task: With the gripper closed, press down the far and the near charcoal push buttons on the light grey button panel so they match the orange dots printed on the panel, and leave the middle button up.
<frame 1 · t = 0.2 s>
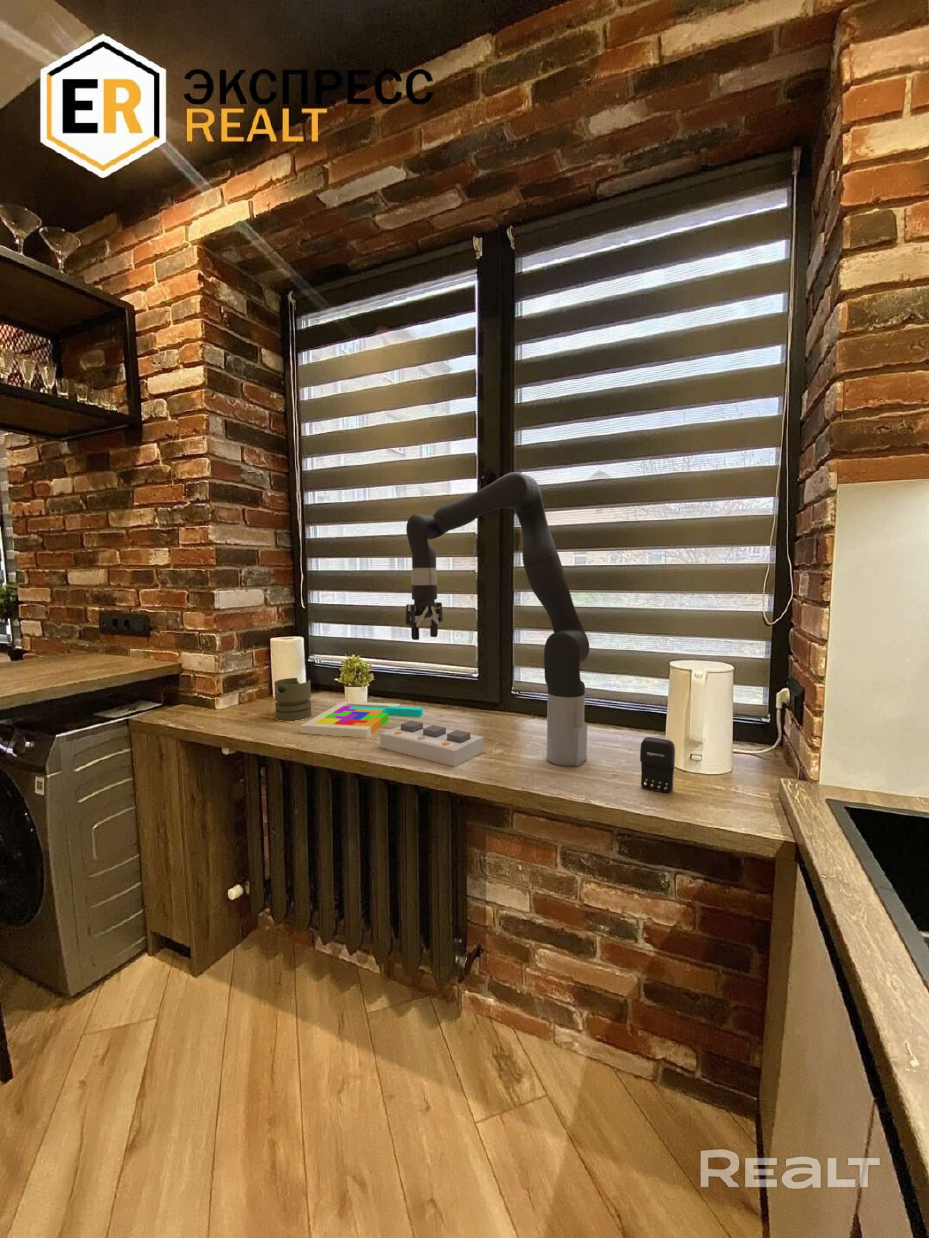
hand: (424, 638, 155), 28 cm above the counter, tool pointing down, fingers open, 8 cm apart
button middle: (434, 733, 142), point 4 cm above the counter, slide at 0.0 cm
button far: (412, 728, 146), point 4 cm above the counter, slide at 0.0 cm
button near: (458, 738, 137), point 4 cm above the counter, slide at 0.0 cm
puzzle game: (367, 724, 167), on the counter
button panel: (431, 749, 141), on the counter
piston: (293, 717, 174), on the counter
battery charger: (655, 790, 115), on the counter
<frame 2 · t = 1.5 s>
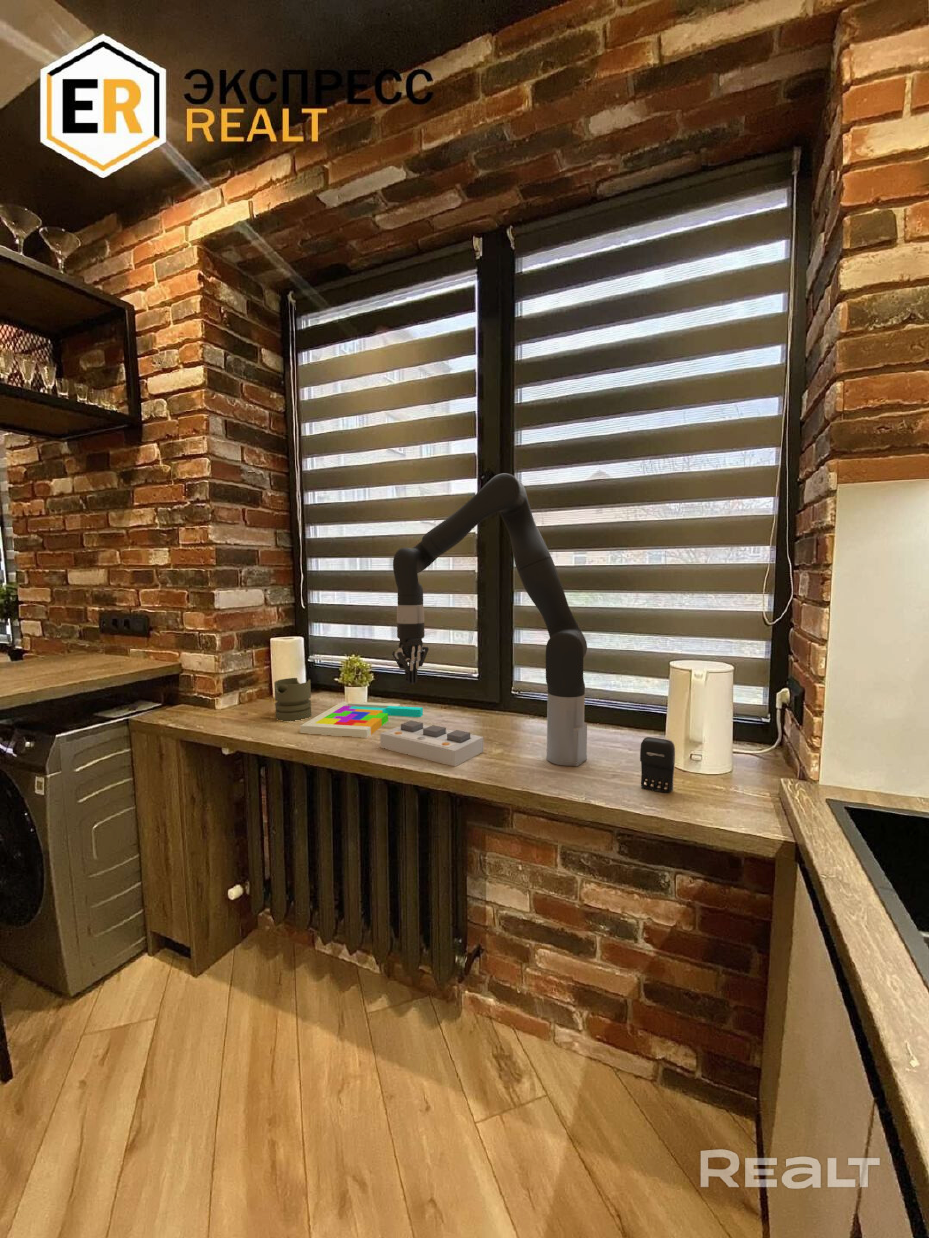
hand: (411, 683, 145), 17 cm above the counter, tool pointing down, fingers closed
nothing on the counter moved.
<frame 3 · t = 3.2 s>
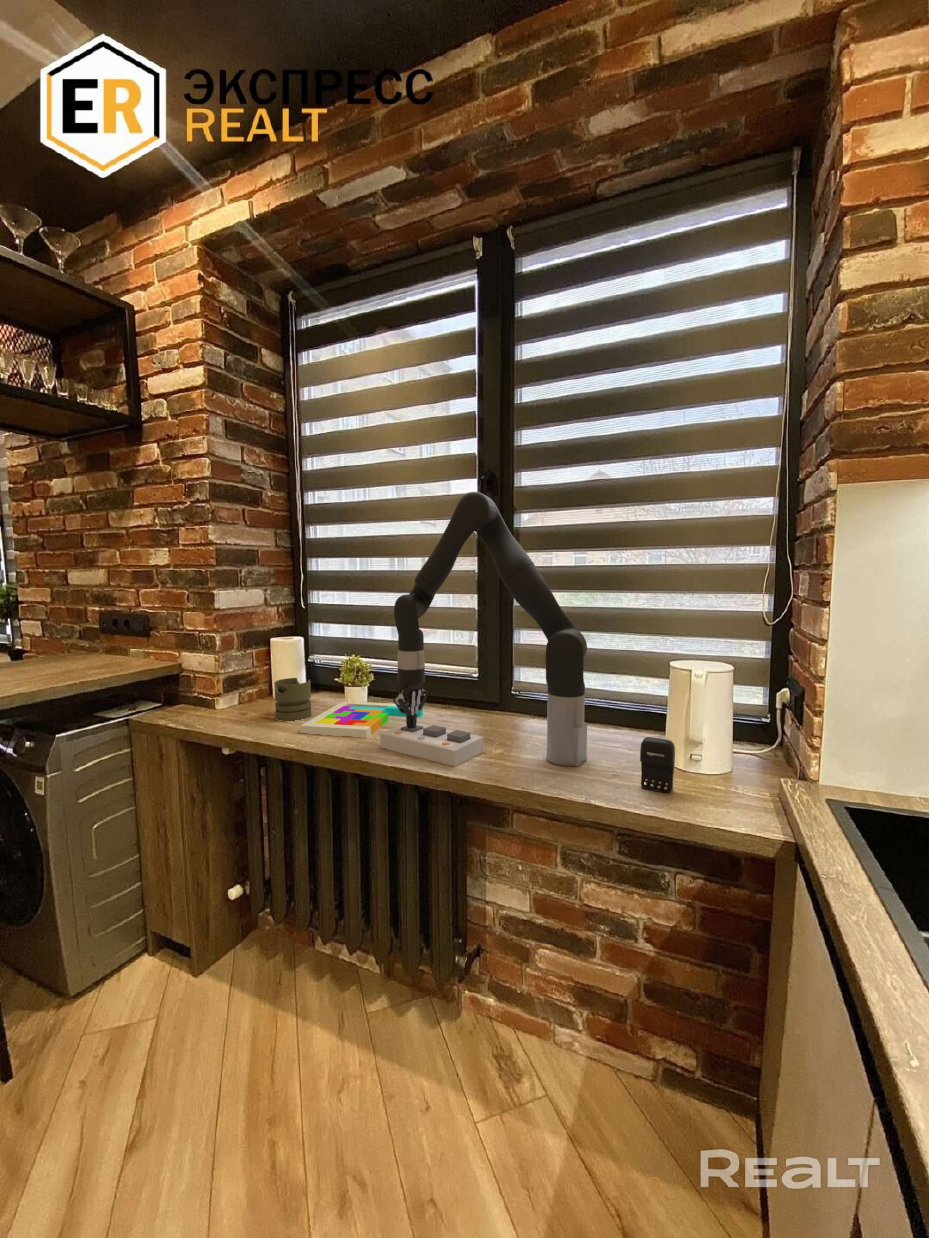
hand: (411, 727, 146), 4 cm above the counter, tool pointing down, fingers closed
button far: (412, 732, 146), point 3 cm above the counter, slide at 1.0 cm, touching gripper
everything else where it was.
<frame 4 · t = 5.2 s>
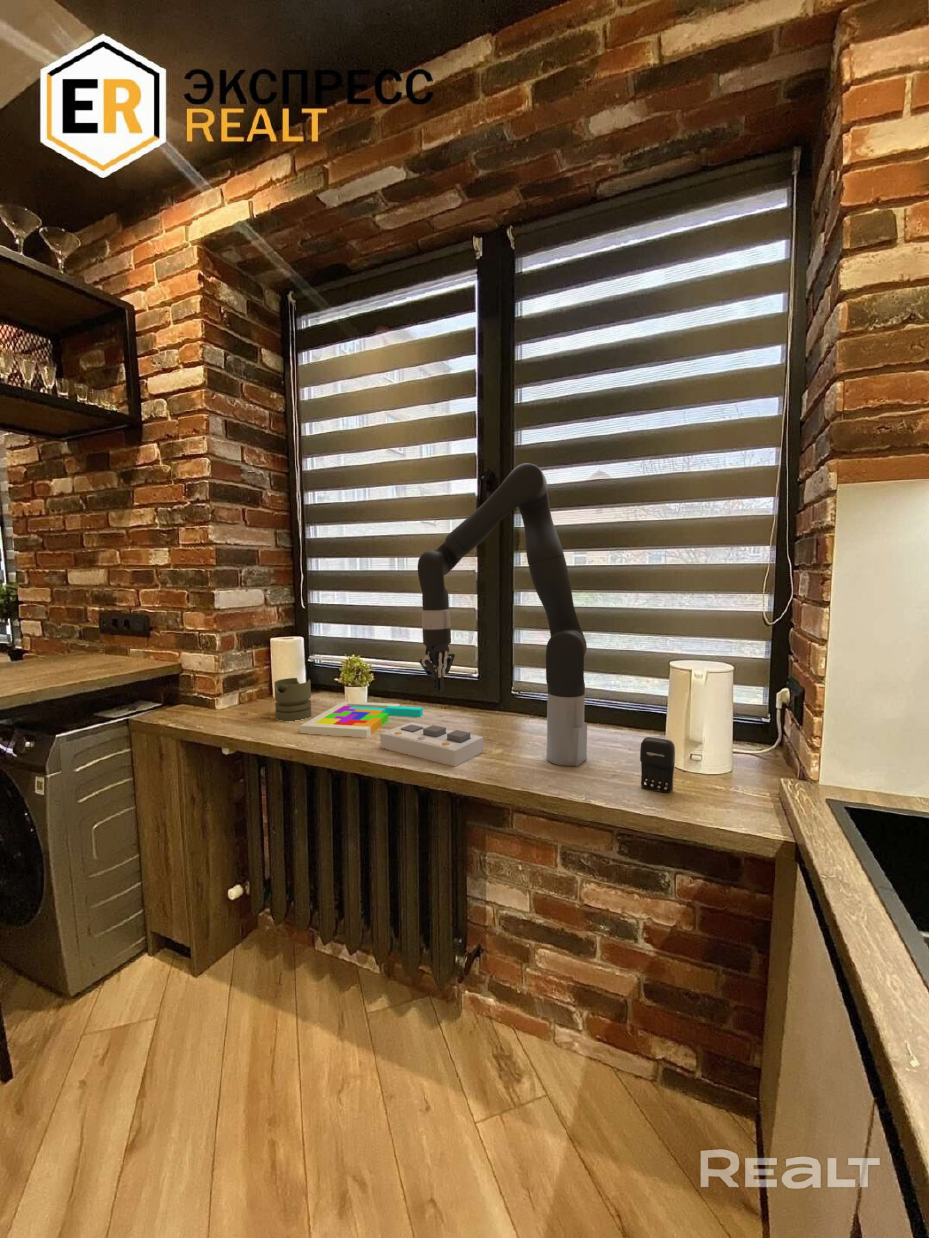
hand: (438, 690, 140), 16 cm above the counter, tool pointing down, fingers closed
button far: (412, 732, 146), point 3 cm above the counter, slide at 1.2 cm
everything else where it was.
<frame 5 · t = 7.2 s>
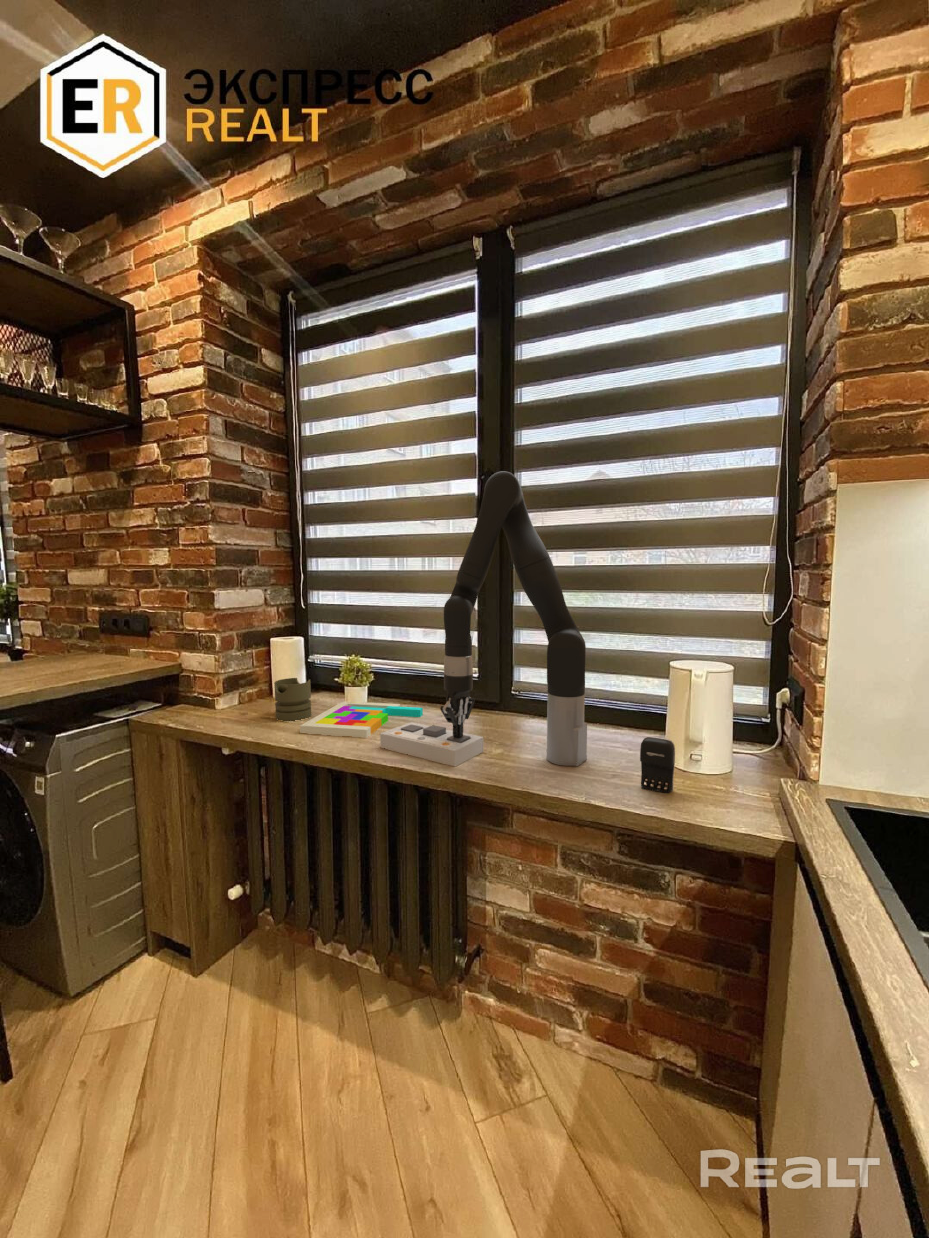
hand: (458, 737, 137), 4 cm above the counter, tool pointing down, fingers closed
button near: (458, 742, 137), point 3 cm above the counter, slide at 1.0 cm, touching gripper
everything else where it was.
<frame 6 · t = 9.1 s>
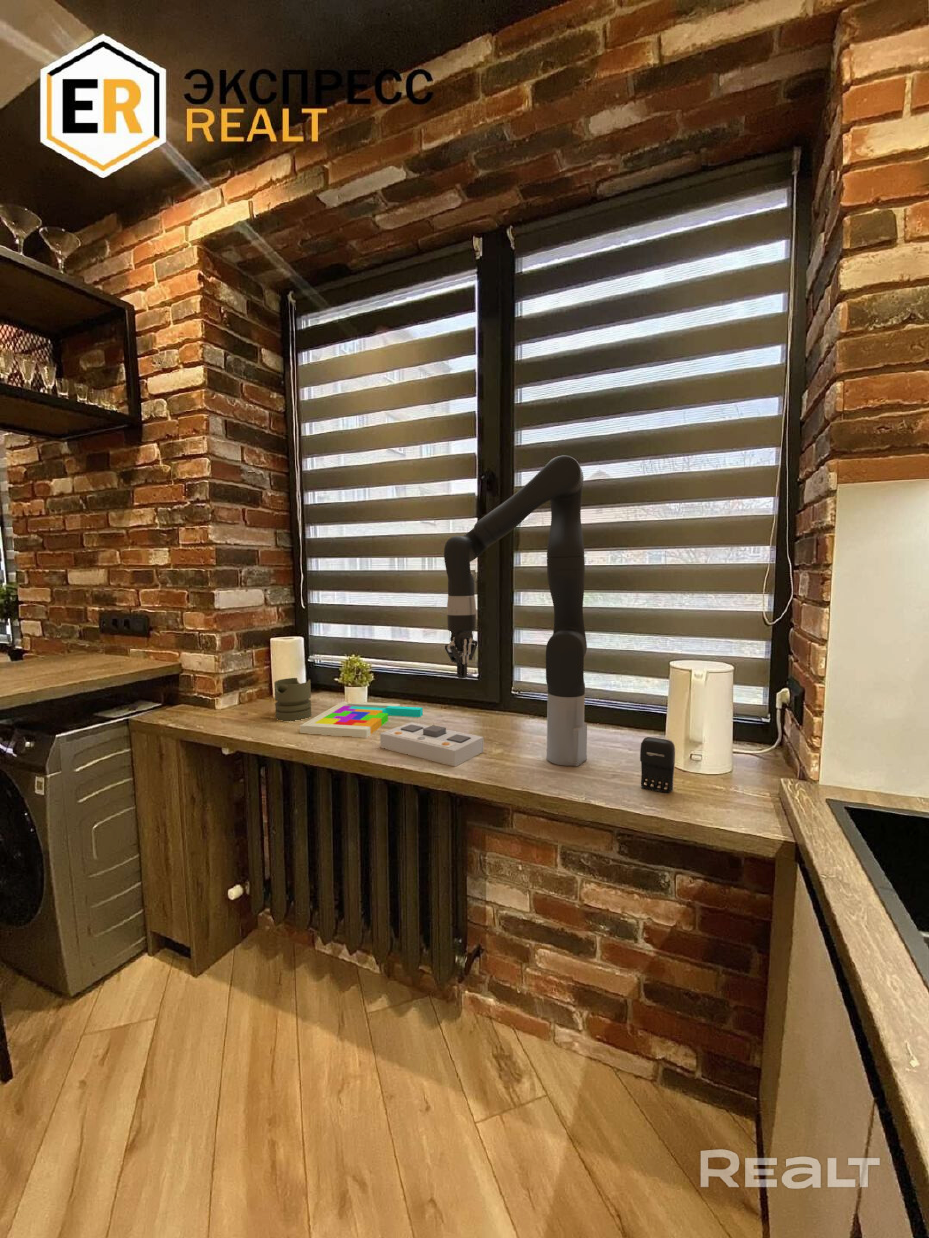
hand: (462, 677, 139), 20 cm above the counter, tool pointing down, fingers closed
button near: (458, 742, 137), point 3 cm above the counter, slide at 1.2 cm, touching button panel
everything else where it was.
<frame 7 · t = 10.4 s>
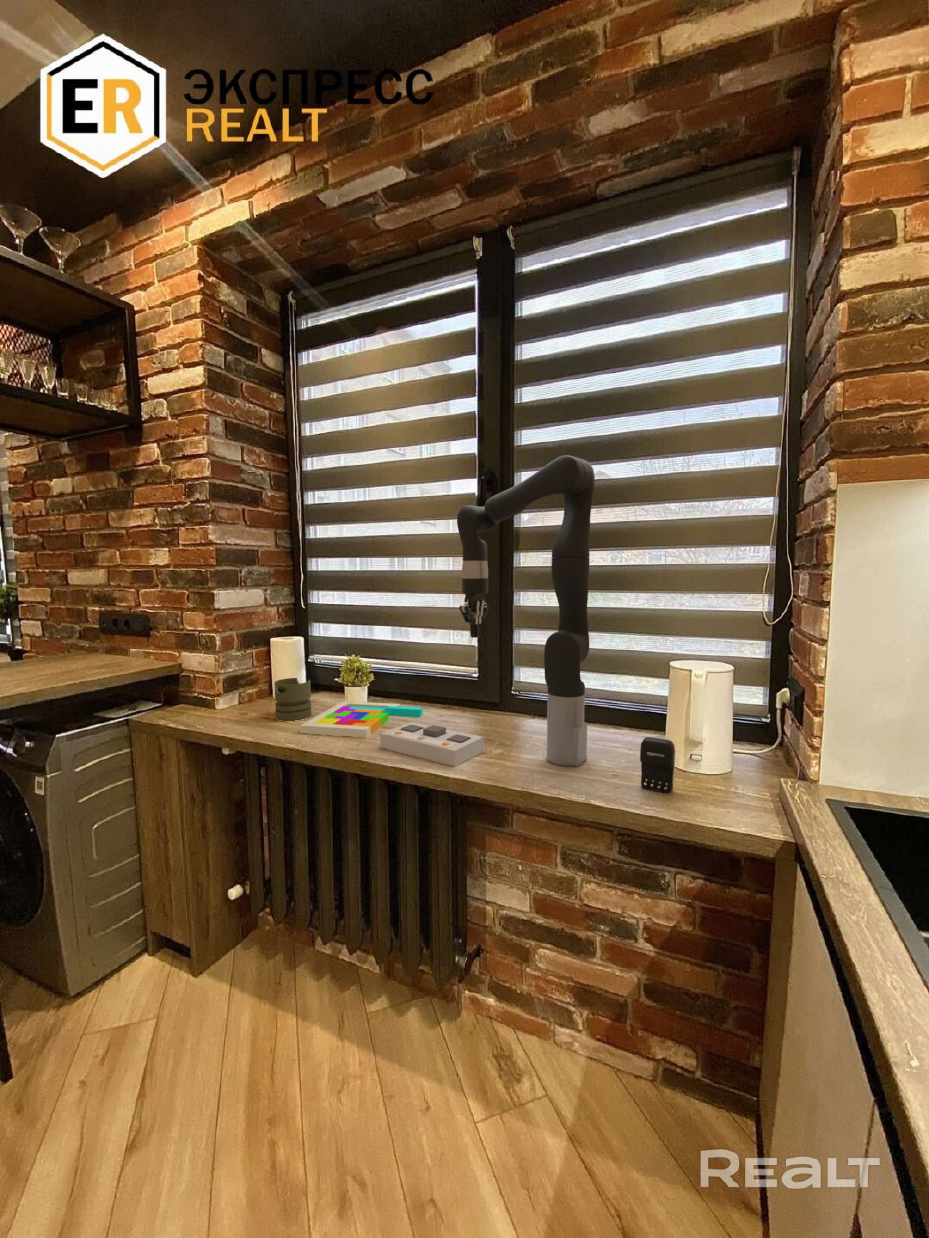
hand: (475, 637, 151), 29 cm above the counter, tool pointing down, fingers closed
nothing on the counter moved.
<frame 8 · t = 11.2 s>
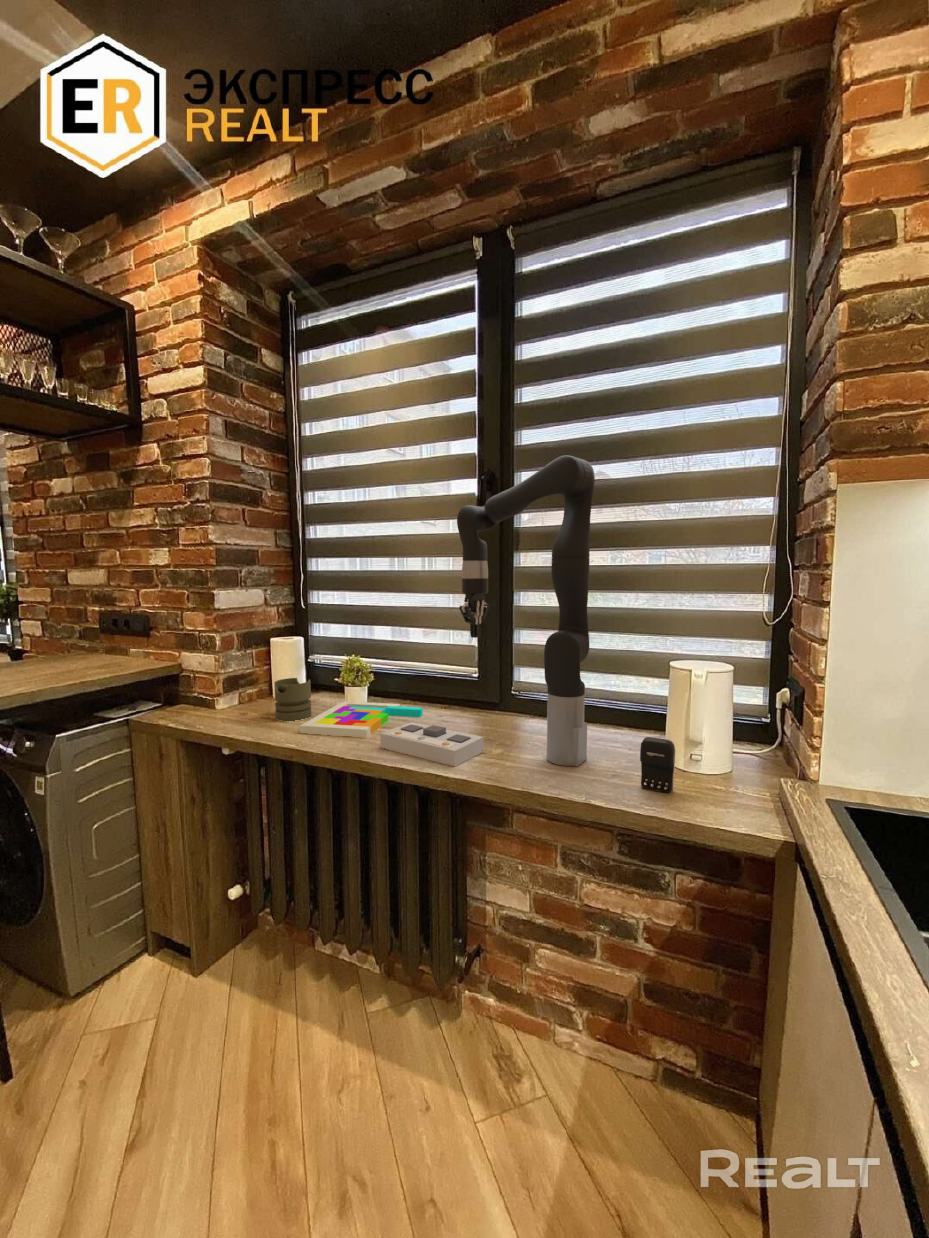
hand: (475, 637, 151), 29 cm above the counter, tool pointing down, fingers closed
nothing on the counter moved.
at the end: button far slide at 1.2 cm; button near slide at 1.2 cm; button middle slide at 0.0 cm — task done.
